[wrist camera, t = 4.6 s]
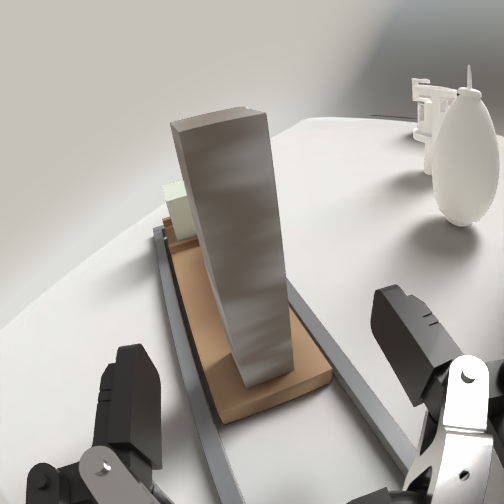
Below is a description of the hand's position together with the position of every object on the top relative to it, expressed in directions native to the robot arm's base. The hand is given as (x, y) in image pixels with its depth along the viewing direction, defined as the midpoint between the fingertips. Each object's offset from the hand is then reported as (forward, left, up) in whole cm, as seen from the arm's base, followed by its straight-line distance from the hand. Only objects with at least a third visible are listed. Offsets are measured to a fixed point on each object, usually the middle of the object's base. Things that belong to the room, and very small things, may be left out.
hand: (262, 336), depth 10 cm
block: (-1, -24, -8) cm, 25 cm away
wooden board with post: (-1, -15, -9) cm, 18 cm away
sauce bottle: (-28, -12, -10) cm, 32 cm away
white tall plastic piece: (-38, -25, -10) cm, 46 cm away
